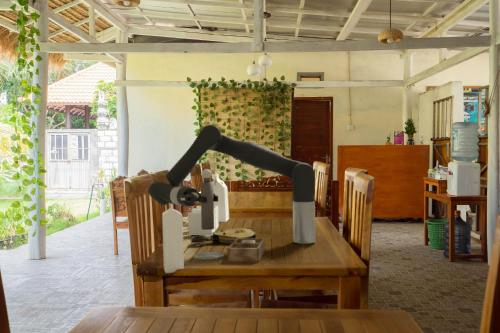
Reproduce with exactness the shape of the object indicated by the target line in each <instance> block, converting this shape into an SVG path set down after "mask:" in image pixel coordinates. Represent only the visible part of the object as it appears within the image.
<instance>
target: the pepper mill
mask: <svg viewBox="0 0 500 333" xmlns="http://www.w3.org/2000/svg"><path fill="white" fill-rule="evenodd" d="M212 175H213V174H212V171H211V169H208V168H205V169H203V170H202V172H201V177H203V181H200V192H201V196H204V197H207V203H201V202H200V206H201V229H203V230H211V229H214V194H213V182H212V181H211V177H212Z"/></svg>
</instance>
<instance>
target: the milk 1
mask: <svg viewBox="0 0 500 333" xmlns="http://www.w3.org/2000/svg"><path fill="white" fill-rule="evenodd" d="M161 216H162V218H161V219H162V246H163V247H162V250H163V251H162V252H163V270H164V272H165V274H171V273H172V274H173V273H175V272H176V271H178V270H183V269H185V266H184V264H185V261H184V259H185V258H184V257H185V256H184V226H183V225H184V224H183V222H184V221H183V220H184V219H183V214H182V213H181V212H180V211H179V210H176V209H174V204H171V203H170V207H169V208H168V209H167V210H164V212H162V214H161Z"/></svg>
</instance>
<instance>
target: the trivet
mask: <svg viewBox="0 0 500 333" xmlns="http://www.w3.org/2000/svg"><path fill="white" fill-rule="evenodd" d="M224 256H225V255H224V253H222V252H216V251H215V252H214V251H213V252H211V251H208V252H207V251H206V252H201V253H196V254H194V255H193V258H195V259H199V260H214V259H215V260H217V259H220V258H223V257H224Z"/></svg>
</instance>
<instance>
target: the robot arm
mask: <svg viewBox="0 0 500 333" xmlns="http://www.w3.org/2000/svg"><path fill="white" fill-rule="evenodd" d="M209 150H210V151H213V152H216V153H219V154H224V155H226V156H230V157H232V158H233V159H236V160H238V161H240V162H242V163H245V164H247V165H250V166H252V167H254V168H257V169H259V170H260V169H261V170H264V171H267V172H273V173H276V174H280V175H283V177H284V176H285V177H286V178H288V179H290V180H292V222H293V223H292V229H293V230H292V231H293V232H292V233H293V237H292V238H293V243H296V244H300V245H301V244H304V245H305V244H316V205H315V202H316V199H315V198H316V173H315V169H314V168H313V167H312V165H310V164H309V163H306V162H301V161H298V160H293V159H290V158H287V157H285V156H282V155H281V154H279V153H277V152H276V151H274V150H271V149H270V148H267V147H265V146H262V145H260V144H257V143H255V142H251V141H245V140H244V141H243V140H237V139H233V138H231V137H229V136H227V135H225V134H222V132H221V130H220V128H219V127H218V126H216V125H214V124H207V125H204V127H202V129H201V130H200V132H199V133H198V135H197V136H196V138H195V140H194V141H193V143H192V144H191V145H190V146H189V148H188V149H187V150H186V152H185V153H184V154H183V155H182V156H181V157H180V158H179V160H178V161H177V162H175V164H174V165H173V166H172V167H171V168H170V169H169V171H168V172H167V173H166V174H165V179H166V180H167V182H168V183H166V182H163V181H155V182H152V183H151V184H150V185H149V186H148V190H147V192H148V195H149V196H150V197H151V198H152V199H153V200H154V201H156V202H157V204H159V205H161V206H167V205H168V204H170V205H171V204H172V205H177V206H183V207H187V208H189V207H191V208H192V207H194V206H196V204H201V203H207V197H204V196H201V191H198V190H197V189H196V188H195V187H193V186H185V185H184V186H183V185H181V184H182V183H183V182H184V180H185V179H186V178H187V177H188V176H189V175H190V173H191V172H192V171H193V170H194V168H195V166H196V165H197V163H198V162H199V160H200V159H201V158H202V157H203V156H204V154H205V153H206V152H208V151H209ZM214 201H215V202H218V196H217V195H215V194H214Z"/></svg>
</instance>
